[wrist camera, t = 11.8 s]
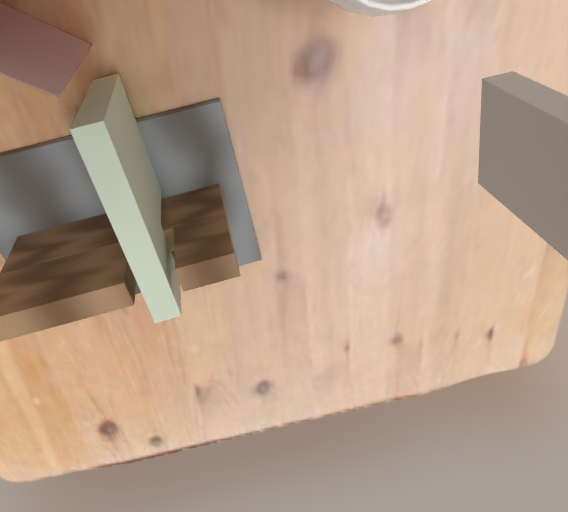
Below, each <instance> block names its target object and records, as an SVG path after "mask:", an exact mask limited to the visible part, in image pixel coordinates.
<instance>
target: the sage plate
mask: <svg viewBox="0 0 568 512" xmlns="http://www.w3.org/2000/svg"><path fill="white" fill-rule="evenodd" d="M69 130H70V132H71V134H72V136H73V139H74V141H75V143H76V146H77V148H78V150H79V152H80V155H81V157H82V159H83V161H84V164H85V166H86V168H87V170H88V173H89V175H90V177H91V180H92V182H93V184H94V186H95V189H96V191H97V193H98V195H99V198H100V200H101V202H102V204H103V207H104V209H105V211H106V213H107V216H108V218H109V220H110V223H111V225H112V227H113V229H114V232H115V234H116V236H117V238H118V241H119V243H120V245H121V247H122V250H123V252H124V254H125V257H126V259H127V261H128V263H129V266H130V268H131V270H132V272H133V275H134V277H135V279H136V281H137V284H138V286H139V288H140V291H141V293H142V295H143V297H144V300H145V302H146V304H147V306H148V309H149V311H150V313H151V315H152V318H153V320H154V322H155V323H157V322H161V321H164V320H168V319H172V318H175V317H179V316H181V295H180V281H179V278H178V276H177V273H176V270H175V253H174V251H171V249H170V247H169V244H168V242H167V239H166V236H165V234H164V231H163V228H162V226H161V188H160V186H159V183H158V180H157V177H156V175H155V172H154V169H153V166H152V164H151V161H150V158H149V155H148V153H147V150H146V147H145V144H144V142H143V139H142V136H141V133H140V131H139V128H138V125H137V122H136V120H135V117H134V114H133V111H132V109H131V106H130V103H129V100H128V98H127V95H126V92H125V89H124V87H123V84H122V81H121V78H120V76H119V73H118V74H114V75H110V76H106V77H102V78H98V79H94V80H93V81H92V83H91V85H90V87H89V89H88V91H87V94H86V96H85V98H84V100H83V102H82V104H81V106H80V108H79V110H78V113H77V115H76V117H75V119H74V121H73V123H72V125H71V127H70V129H69Z"/></svg>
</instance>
